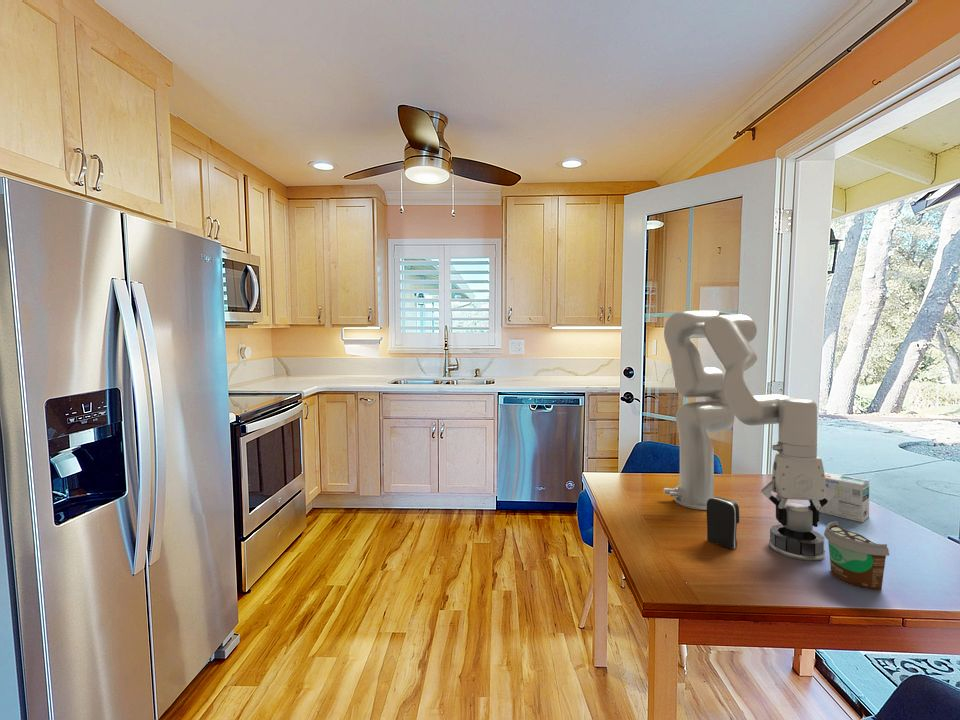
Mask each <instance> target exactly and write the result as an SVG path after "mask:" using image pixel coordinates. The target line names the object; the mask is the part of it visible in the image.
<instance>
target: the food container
mask: <svg viewBox="0 0 960 720" xmlns="http://www.w3.org/2000/svg"><path fill="white" fill-rule="evenodd" d="M838 524H839V522H838V521H831V522H828V524H827V526H825V530H824V533H823V535H824V536H823V537H824V539H826V540H827V541H828V551H829V564H830V572H831V575H832V576H833V577H834V578H835V579H837V580H838V581H841V582H842V583H845V584H846V585H849V586H852V587H855V588H859V589H863V590H869V591H882V587H883V581H884V580H883V579H884V575H885V574H884V573H885V565H886V558H887V557H888V556H890V551H889V547H888V544H887V543H885V544H884V543H883V544H882V543H876V542H873V541H871V540H870V539H868V538H866V537H865V536H863V535H861V534H859V533H858V532H853V531H850V530H848V529H846V528H844V527H841V526H839V525H838Z"/></svg>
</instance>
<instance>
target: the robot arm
mask: <svg viewBox="0 0 960 720" xmlns="http://www.w3.org/2000/svg"><path fill="white" fill-rule="evenodd" d="M757 332H758V329H757V325H756V322H755V321H754V320H753V319H752V317H750V316H748V315H747V314H746V315H745V314H739V313H734V312H726V311H721V310H682V311H678V312H675V313H673V314H671V315H670V316H669V317H668V318H667V320H666V321H665V325H664V329H663V337H664V341H665V344H666V345H665V346H666V348H667V351H668V352H669V356H670V360H671V367H672V368H671V369H672V373H673V378H674V383H675V388H676V391H677V393H678V395H679V396H680V397H683V398H687V399H697V398H704V399H705V401H693V402H692V401H691V402H687V403H684V404H683V405H681V406H679V407H678V409H677V411H676V413H675V421H676V426H677V431H678V438H679V439H678V441H679V484H676V486H677V487H673V488H671V487H664V488H663V494H664V495H669V496H670V497H674V502H676V504H678V505H680V506H681V507H684V508H687V509H693V510H699V511H701V510H702V511H707V501H708V500H709V499H710V498H713V497H715V494H714V493H715V492H714V489H715V488H714V487H715V486H714V483H715V480H714V478H715V475H714V474H715V473H714V470H715V469H714V465H715V463H714V457H715V456H714V452H715V451H714V446H713V445H714V444H713V443H712V441H711V439H710V437H709V435H708V433H713V432H714V433H715V432H721V431H727V430H729V429H730V428H731V427H732V426H733V425H734V422H735V419H738V421H739V422H740V423H742V424H744V425H747V426H764V425H772V424H773V425H774V424H776V425H777V424H778V440H777V443H776V444H772V446H771V448H772V451H777V452H778V453H775V456H774V459H773V463H772V470H771V481H769V482H768V483H767V484H766V485H765V486H763V488H762V489H761V490H760V492H761V494H763V496H765V497H766V498H767V499H768V500H769V501H770V502H771V503H772V504H774V505H775V518H776V520H777V522H778V523H780V525H781V524H782V525H786V524H787V510H786V509H785V508H784V506H785V505H786V504H787V502H788V500H798V501H799V500H801V501H805V500H806V501H808V503H809V505H807V507H808V508H809V509H811V510H812V511H813V528H818V526H819V525H818V524H819V522H820V512H819V510H821V509H822V507H823V506H824V505H825V504H826V503H827V502H828V501H829V500H831V499H832V498H833V497H834V496H835V494H834V493H833V492H832V491H831V490H830V489H829V488H827V487H826V482H825V474H824V472H825V468H824V464H823V460H822V458H821V456H818V405H817V403H816V401H814V400H812V399H809V398H798V397H791V396H789V395H785V394H780V393H779V394H778V393H772V394H771V393H769V394H757V395H756V394H755V395H753V394H752V392H751V391H750V390H749V388H748V386H747V385H746V382H745V378H744V374H745V373H744V372H746V371H747V370H749V369H750V368H752V367H753V366H754V365H755V364H756V362H757V361H758V355H757V354H756V352H755V351H754V349H753V347H752V346H751V345H750V342H752V341H753V340H754V339H755V337H756V336H757ZM701 338H702V339H703V338H704V339H706V340H707V342H708V344H709V345H710V346H711V348H712V350H713V352H714V353H715V355H716V358H717V359H718V360H719V362H720V364H721V365H722V367H723V369H724V372H723V370H721V369H720V368H718V367H715V366H703V363H702V360H701V359H702V358H701V355H700V351H699V350H698V348H697V347H696V345H695V344H694V343H693V342H692V340H691V339H701ZM735 417H736V418H735ZM772 492H773V493H775V494H776V495H775V496H774V495H773V494H772Z"/></svg>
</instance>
